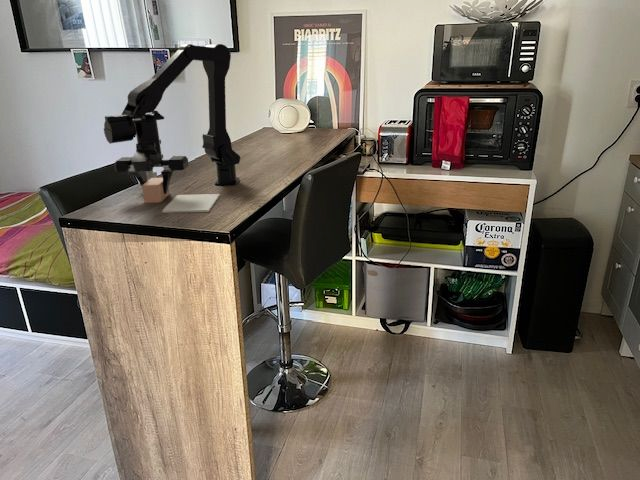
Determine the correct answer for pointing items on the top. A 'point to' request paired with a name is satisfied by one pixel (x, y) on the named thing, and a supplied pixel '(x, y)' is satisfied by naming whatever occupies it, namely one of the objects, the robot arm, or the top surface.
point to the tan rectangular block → (154, 190)
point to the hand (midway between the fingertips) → (156, 193)
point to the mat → (191, 203)
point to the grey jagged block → (151, 174)
